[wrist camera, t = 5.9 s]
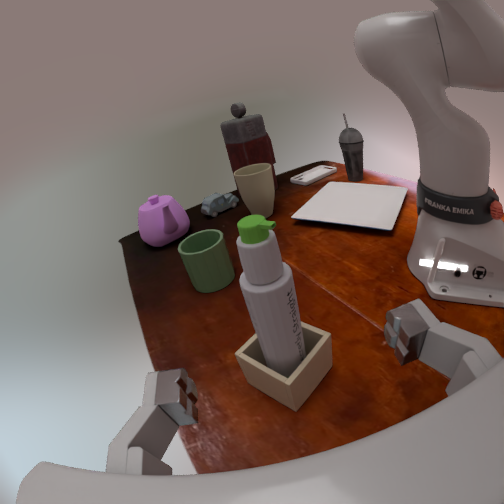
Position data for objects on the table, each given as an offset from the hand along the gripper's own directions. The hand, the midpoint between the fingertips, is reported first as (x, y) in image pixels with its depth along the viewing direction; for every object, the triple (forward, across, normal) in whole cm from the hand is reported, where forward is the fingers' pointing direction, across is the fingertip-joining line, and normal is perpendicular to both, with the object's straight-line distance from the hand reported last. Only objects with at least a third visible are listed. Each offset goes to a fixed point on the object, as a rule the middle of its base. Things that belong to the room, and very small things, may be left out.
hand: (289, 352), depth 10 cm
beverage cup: (+68, -35, +20) cm, 78 cm away
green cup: (+36, +8, +20) cm, 42 cm away
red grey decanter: (+77, -7, +20) cm, 80 cm away
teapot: (+60, +20, +20) cm, 67 cm away
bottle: (+12, 0, +20) cm, 23 cm away
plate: (+49, -26, +20) cm, 59 cm away
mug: (+60, -5, +20) cm, 63 cm away
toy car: (+70, +6, +20) cm, 73 cm away
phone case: (+78, -25, +20) cm, 84 cm away
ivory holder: (+12, 0, +20) cm, 23 cm away
